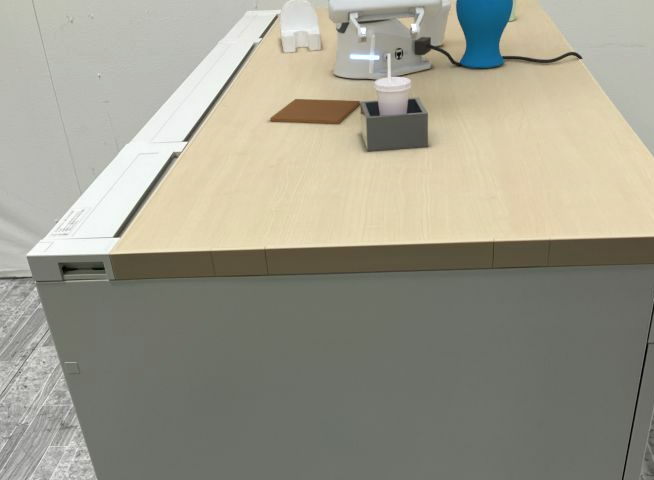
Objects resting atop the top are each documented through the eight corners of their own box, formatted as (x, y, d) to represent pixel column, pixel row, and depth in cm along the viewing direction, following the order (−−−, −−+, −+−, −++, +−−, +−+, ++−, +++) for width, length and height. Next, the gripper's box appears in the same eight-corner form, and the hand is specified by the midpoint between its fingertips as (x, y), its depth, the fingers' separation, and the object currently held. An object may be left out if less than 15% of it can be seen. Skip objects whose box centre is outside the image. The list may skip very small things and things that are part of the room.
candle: (496, 21, 225) (497, -14, 220) (496, 18, 229) (498, -17, 224) (514, 21, 224) (516, -14, 219) (515, 17, 228) (517, -17, 223)
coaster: (295, 101, 171) (295, 98, 170) (359, 104, 167) (359, 100, 167) (270, 121, 161) (270, 118, 160) (338, 123, 157) (338, 120, 157)
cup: (455, 42, 208) (457, -1, 202) (442, 51, 201) (442, 7, 195) (419, 40, 211) (419, -2, 205) (404, 49, 204) (403, 6, 198)
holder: (361, 133, 151) (360, 101, 148) (418, 129, 152) (418, 97, 148) (367, 151, 143) (366, 117, 140) (427, 146, 144) (427, 113, 140)
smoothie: (374, 136, 150) (371, 50, 141) (409, 133, 150) (408, 47, 141) (377, 146, 145) (375, 58, 136) (413, 144, 145) (413, 56, 136)
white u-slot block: (316, 35, 222) (313, -9, 216) (321, 49, 208) (318, 3, 202) (281, 38, 222) (276, -6, 215) (283, 52, 208) (279, 6, 201)
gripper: (321, -44, 142) (330, 31, 141) (438, -53, 143) (448, 21, 142) (322, -18, 148) (330, 54, 147) (434, -26, 149) (443, 45, 148)
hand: (389, 38), depth 145 cm, fingers open, 8 cm apart
